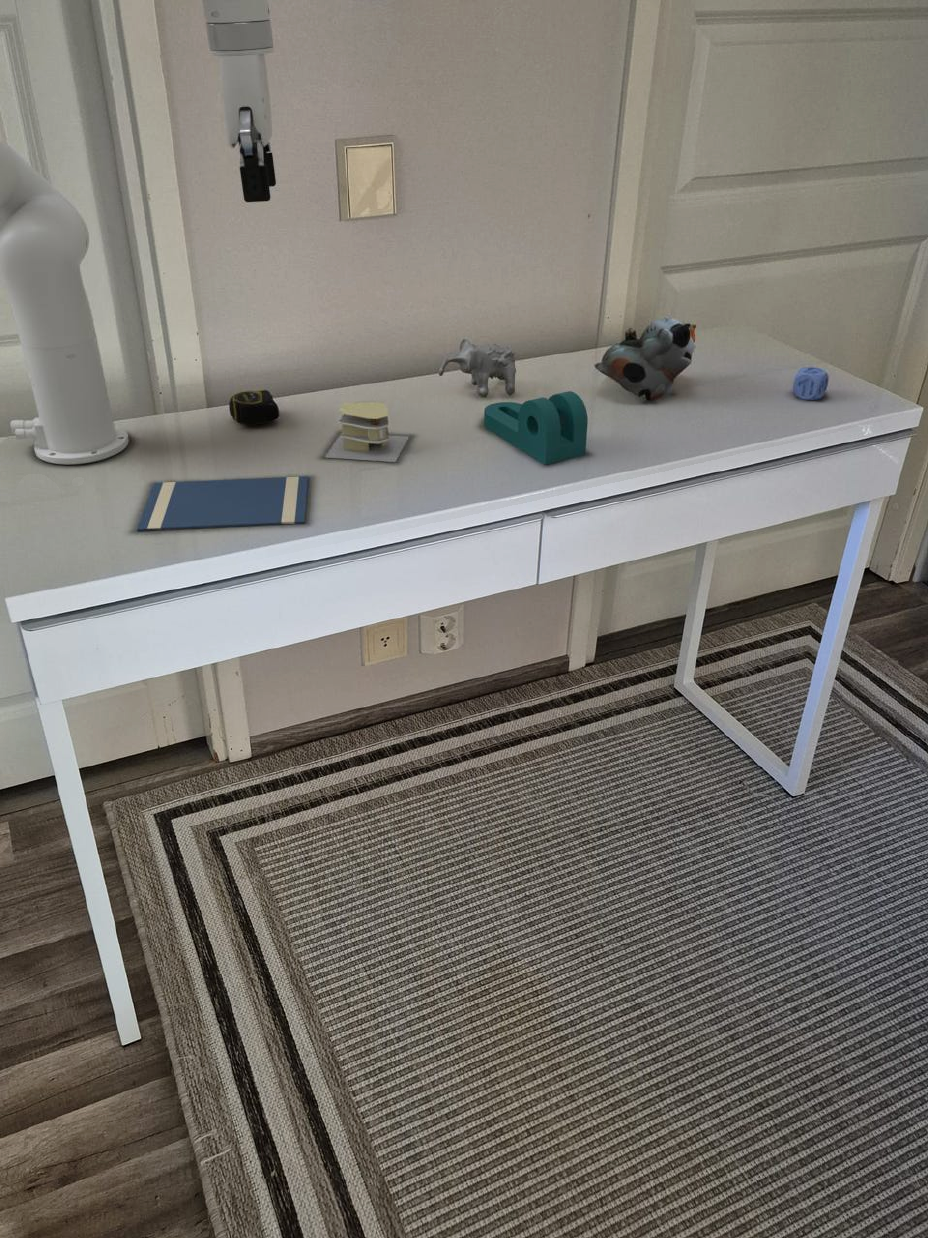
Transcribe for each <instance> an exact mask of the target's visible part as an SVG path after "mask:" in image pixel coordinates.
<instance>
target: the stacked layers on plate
mask: <svg viewBox="0 0 928 1238" xmlns="http://www.w3.org/2000/svg"><path fill="white" fill-rule="evenodd" d="M388 410H389V409H388V405H387V404H386V403H384V402H344V404H343V405H342V407H341V408H340V409H339V411H338V412H337V413H338V414H342V416H341V417H340V419H339V420H338V424H341V426H342V431H341V433H340V434H339V436H338V437H337V438H336V440H335V441H334V443H333V444H332V446H331V447H330V449H329V450H328V452H327V453H326V454H325V455H324V458H326V459H327V458H329V459H344V460H357V461H373V462H391V463H396V462H397V460H398V459H399V457H400V455H401V452H402V451H403V449H404V447H405V445H406V443H407V441H408V439H409V438H410V436H406V435H405V436H404V435H390V431H389V425H390V424H389V411H388Z"/></svg>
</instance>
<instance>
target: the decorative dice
mask: <svg viewBox="0 0 928 1238" xmlns="http://www.w3.org/2000/svg"><path fill="white" fill-rule="evenodd" d="M829 380H830V379H829V374H828V373H827V371H826V370H825V369H823V368H821V367H815V366H803V367H801V368H800V369H799V370H798V371H797V372H796V374H795V377H794V379H793V383H792V391H793V394H794V395H795V396H796V398H798V399H801V400H806V401H818V400H821V399H822V398H823V396H824V395H825V394H826V391H827V389H828V387H829Z"/></svg>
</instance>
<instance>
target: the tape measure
mask: <svg viewBox="0 0 928 1238" xmlns="http://www.w3.org/2000/svg"><path fill="white" fill-rule="evenodd" d="M228 405H229V406H228V407H229V414H230V416H231V418H232V419H233V421H234V422H236V423H238V424H241V425H246V426H250V425H251V426H257V425H262V424H264V423H269V422H270V423H271V422H273V421H276V420H278V419H279V417H280V410H279V406H278V404H277V403H276V402H275V400H274V398H273V395H272V394H271V392H270V391H269V390H267V389H263V390H245V391H240V392H237V393H235V394H233V395H232V396H231V397H230V399H229V402H228Z"/></svg>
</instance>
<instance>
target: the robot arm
mask: <svg viewBox="0 0 928 1238" xmlns="http://www.w3.org/2000/svg"><path fill="white" fill-rule="evenodd" d="M201 2H202V9H203V15H204V22H205V28H206V29H205V30H206V36H207V42H208V48H209V56H213V57H218V66H219V67H218V69H219V70H218V71H219V82H220V89H221V90H220V92H221V99H222V100H221V101H222V108H223V116H224V124H225V135H226V143H227V146H228V147H229V148H231V149H234V148H235V147H236V146H237V145H238V155H239V156H238V157H239V165H240V166H239V174H240V180H241V181H240V183H241V188H242V189H241V190H242V194H243V200H244V202H245V203H261V202H263V203H264V202H269V201H270V200H271V190H270V187H275V186H276V184H277V179H276V170H275V163H274V155H273V152H271V143H270V141H271V139H272V136H273V123H272V122H273V121H272V109H271V98H270V90H269V89H270V87H269V81H268V80H269V79H268V71H267V64H266V56H265V55H266V54H272V53H274V52H275V48H274V39H273V30H272V23H271V15H270V14H271V13H270V6H269V0H201ZM84 219H85V218H83V216H82V215H81V213H80V212H79V211H78V209H77V208H76V207H75V206H74V205H73V204H72V203H71V202H70V201H69V199H67V198H66V196H64V195H63V194H62V193H61V192H60V191H59V190H57V188H56V187H54V186H53V185H52V184H51V183H50V182H49V181H48V180H47V179H46V178H45V177H44V176H42V174H41V173H39V172H38V171H37V170H36V169H35V168H34V167H33V165H31V164H30V163H29V162H27V161H26V159H24V157H22V156H21V155H20V154H19V153H18V152H17V151H16V150H14V149H13V148H12V147H11V146H10V145H9V144H7V143H6V142H4V141H3V140H2V139H0V279H1V282H2V285H3V288H4V291H5V293H6V295H7V299H8V301H9V304H10V306H11V311H12V314H13V318H14V322H15V325H16V326H15V327H16V329H17V330H16V331H17V334H18V339H19V342H20V344H21V345H20V346H21V348H22V353H23V357H24V362H25V365H26V369H27V374H28V377H29V382H30V386H31V390H32V394H33V399H34V402H35V407H36V411H37V417H34V418H33V419H31V420H29V419H28V420H27V419H13V420H11V421H10V426H9V427H10V432H11V433H12V435H14V436H15V438H16V439H17V440H27V439H33V440H35V442H34V444H33V450H34V454H35V456H36V457H37V458H38V459H39V460H42V461H44V462H46V463H50V464H55V465H83V464H89V463H94V462H98V461H103V460H105V459H108V458H111V457H113V456H115V455H118V454H119V453H120V452H122V451H123V450H125V448H127V447H128V444H129V442H130V439H129V435H128V432H127V431H126V430H125V429H124V428H123V427H121V426H119V425H116V424H115V422H114V417H113V411H112V408H111V402H110V397H109V392H108V386H107V382H106V378H105V373H104V367H103V362H102V357H101V352H100V348H99V342H98V338H97V333H96V329H95V324H94V319H93V315H92V310H91V305H90V302H89V299H88V294H87V291H86V288H85V285H84V281H83V277H82V273H81V272H82V271H81V264H82V262H83V260H84V259H85V257H86V256H87V253H88V249H89V245H90V234H89V233H90V232H89V230H88V227H87V223H86V222H85V220H84Z"/></svg>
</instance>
